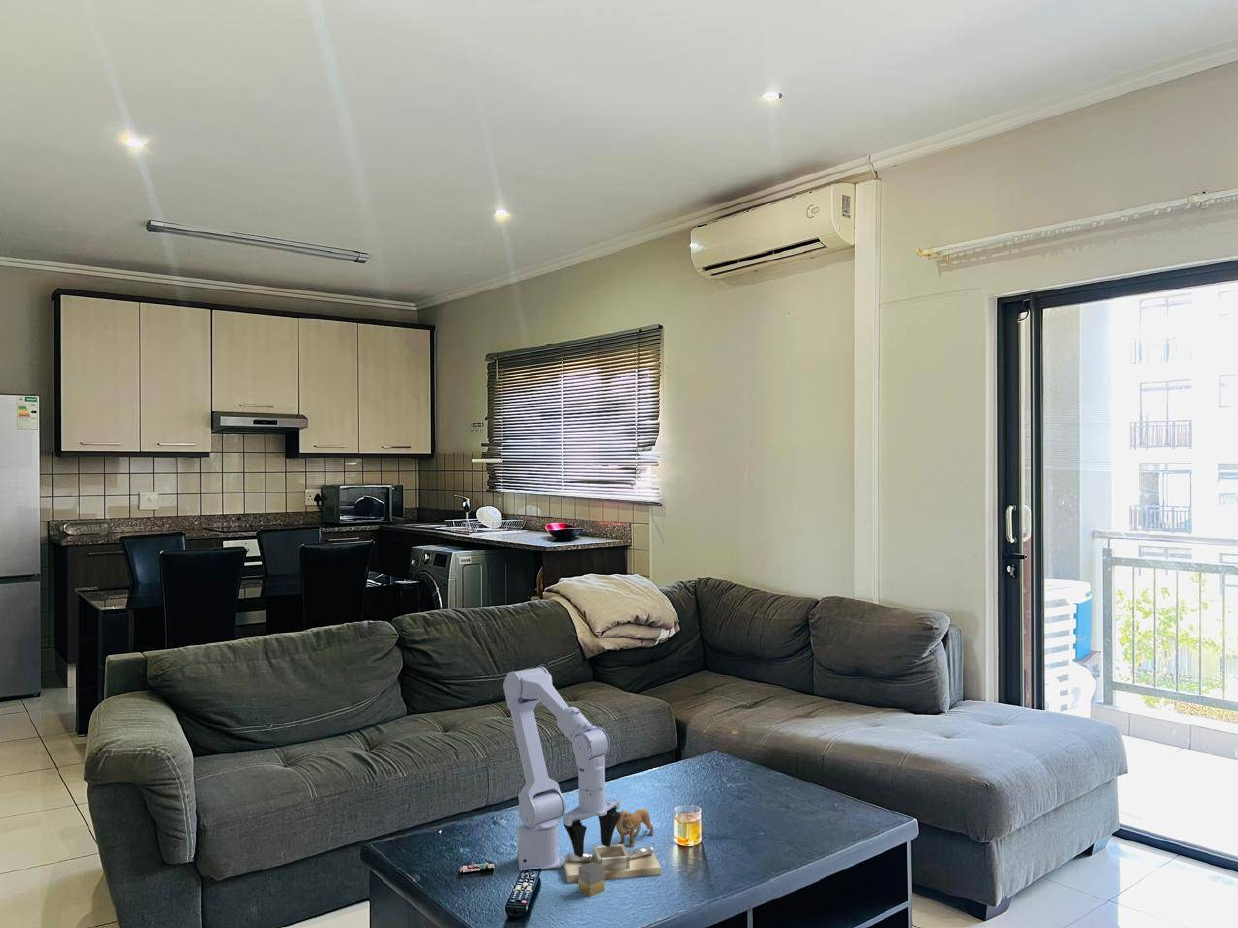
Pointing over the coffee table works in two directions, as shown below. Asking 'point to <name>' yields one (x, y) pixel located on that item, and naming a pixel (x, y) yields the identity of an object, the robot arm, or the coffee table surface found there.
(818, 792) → the coffee table surface
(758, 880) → the coffee table surface
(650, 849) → the shaft right
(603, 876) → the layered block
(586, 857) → the shaft left
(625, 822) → the lion figurine
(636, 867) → the shaft board
